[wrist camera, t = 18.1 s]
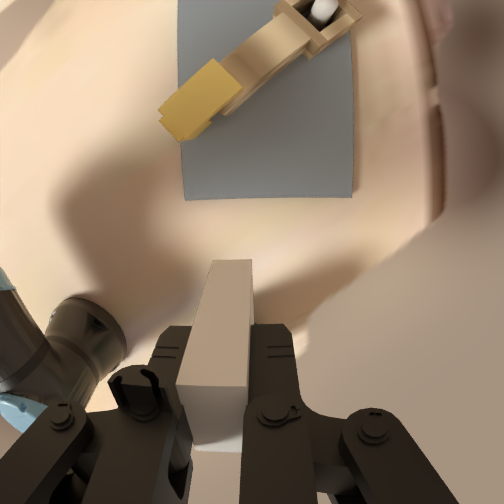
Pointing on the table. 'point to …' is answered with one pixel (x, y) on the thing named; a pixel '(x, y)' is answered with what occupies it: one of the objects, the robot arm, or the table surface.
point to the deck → (260, 110)
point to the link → (282, 45)
